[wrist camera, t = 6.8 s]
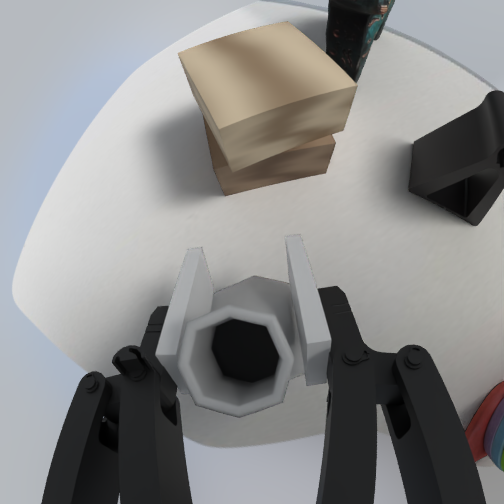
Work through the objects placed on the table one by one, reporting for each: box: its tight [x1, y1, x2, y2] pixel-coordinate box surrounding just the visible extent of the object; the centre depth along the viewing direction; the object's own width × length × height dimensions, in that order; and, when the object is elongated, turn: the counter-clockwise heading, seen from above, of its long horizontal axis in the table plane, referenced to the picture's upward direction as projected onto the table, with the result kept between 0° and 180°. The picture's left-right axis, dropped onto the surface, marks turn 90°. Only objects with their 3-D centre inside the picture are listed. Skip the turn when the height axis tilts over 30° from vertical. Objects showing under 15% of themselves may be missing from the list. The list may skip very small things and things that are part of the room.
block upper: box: [178, 21, 358, 173], centre depth 17 cm, size 9×9×5 cm
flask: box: [177, 276, 305, 418], centre depth 12 cm, size 7×7×10 cm
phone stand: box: [408, 90, 504, 226], centre depth 16 cm, size 9×6×12 cm, turn 68°
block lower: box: [203, 115, 336, 196], centre depth 22 cm, size 9×9×5 cm
